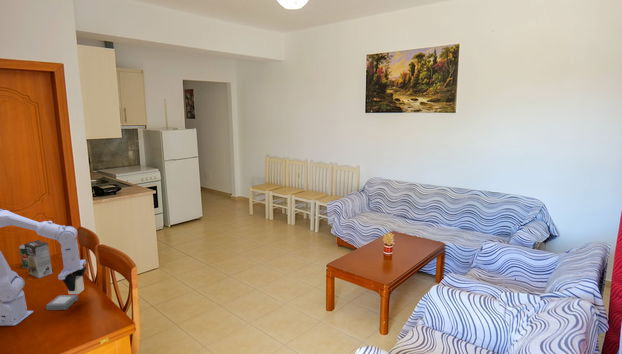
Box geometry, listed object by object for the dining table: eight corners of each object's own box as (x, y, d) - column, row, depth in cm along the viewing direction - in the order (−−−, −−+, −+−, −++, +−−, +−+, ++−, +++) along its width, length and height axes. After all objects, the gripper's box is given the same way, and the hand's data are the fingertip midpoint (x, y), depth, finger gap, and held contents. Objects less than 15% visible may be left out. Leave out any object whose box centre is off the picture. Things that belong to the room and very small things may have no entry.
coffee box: (28, 274, 182) (23, 243, 179) (43, 269, 188) (38, 239, 185) (38, 278, 178) (33, 247, 175) (53, 273, 184) (48, 242, 181)
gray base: (66, 309, 151) (65, 305, 151) (46, 309, 151) (45, 305, 151) (78, 299, 159) (77, 295, 158) (59, 299, 159) (59, 295, 158)
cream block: (78, 294, 150) (76, 280, 149) (68, 294, 150) (66, 280, 149) (84, 289, 154) (82, 275, 153) (74, 289, 154) (72, 275, 153)
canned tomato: (38, 260, 198) (35, 241, 196) (43, 264, 194) (40, 244, 191) (20, 265, 192) (17, 245, 190) (25, 269, 188) (21, 249, 185)
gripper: (69, 264, 142) (73, 297, 145) (91, 249, 156) (95, 279, 159) (50, 264, 142) (55, 297, 145) (74, 249, 156) (79, 279, 159)
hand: (75, 287), depth 152 cm, fingers closed on cream block, 4 cm apart
